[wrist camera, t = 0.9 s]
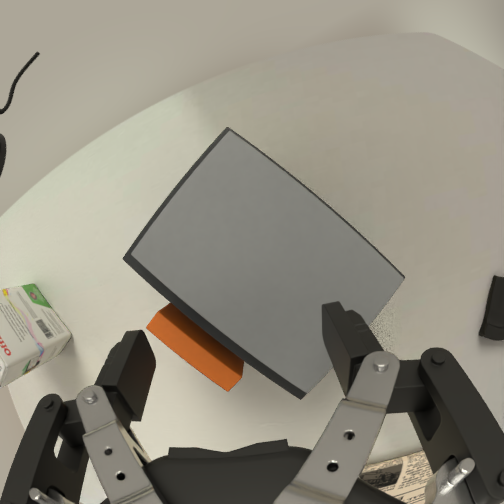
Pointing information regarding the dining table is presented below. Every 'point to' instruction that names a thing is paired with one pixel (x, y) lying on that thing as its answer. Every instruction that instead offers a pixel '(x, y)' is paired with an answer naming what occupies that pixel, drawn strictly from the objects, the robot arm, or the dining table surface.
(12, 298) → the ink box
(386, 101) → the dining table surface
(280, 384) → the dark grey box
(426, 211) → the dining table surface
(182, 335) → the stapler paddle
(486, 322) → the dark sector wedge
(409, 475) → the newspaper
